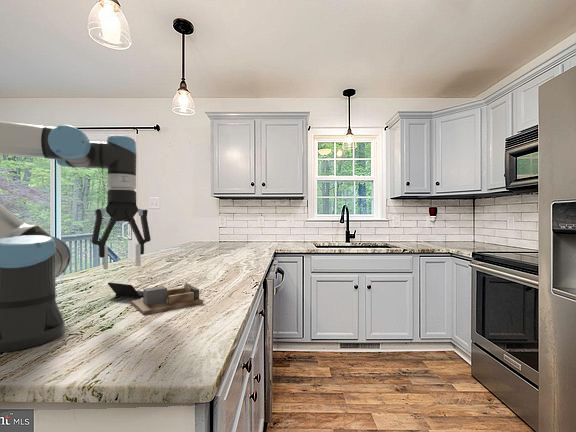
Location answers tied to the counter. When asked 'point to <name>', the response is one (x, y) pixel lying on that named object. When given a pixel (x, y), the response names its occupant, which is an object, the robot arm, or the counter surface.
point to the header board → (172, 300)
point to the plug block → (154, 295)
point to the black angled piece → (125, 290)
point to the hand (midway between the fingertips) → (122, 267)
